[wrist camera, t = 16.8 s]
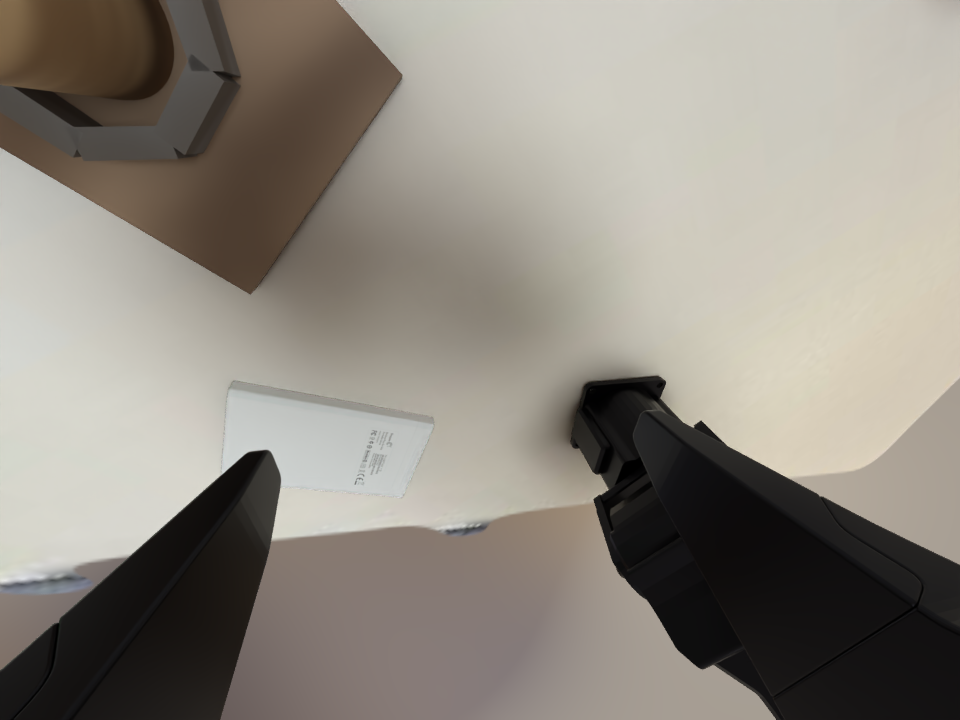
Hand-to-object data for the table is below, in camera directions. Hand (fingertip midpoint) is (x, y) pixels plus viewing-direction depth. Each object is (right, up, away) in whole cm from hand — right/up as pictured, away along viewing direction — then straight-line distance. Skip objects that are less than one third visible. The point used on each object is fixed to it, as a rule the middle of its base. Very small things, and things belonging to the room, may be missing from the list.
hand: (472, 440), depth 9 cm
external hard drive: (-10, -4, +17) cm, 20 cm away
